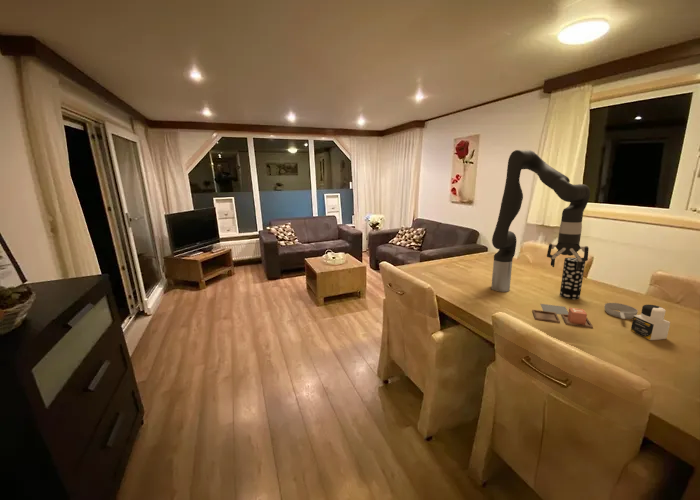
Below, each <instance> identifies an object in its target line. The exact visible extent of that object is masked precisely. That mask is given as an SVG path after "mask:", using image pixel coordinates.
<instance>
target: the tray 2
mask: <svg viewBox="0 0 700 500" xmlns="http://www.w3.org/2000/svg"><path fill="white" fill-rule="evenodd" d="M560 316H561V318H562V319H563V322H564V324H565V325H567V326H572V327H573V326H574V327H579V328H586V329H594V326H593V324H592V323H591V321H590V319H588V317H587V318H586V324H585V325H583V324H576V323H570V321H569V319H568V315H567V314H560Z"/></svg>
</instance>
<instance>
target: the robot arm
mask: <svg viewBox="0 0 700 500" xmlns="http://www.w3.org/2000/svg"><path fill="white" fill-rule="evenodd" d="M522 170H528V171H531V172H533V173H535V174H536V175H537V176H538V178H539V180H540V181H541V183H543V185H545V186H547V187H548V188H549V189H550V190H552V191H554V193H555V194H556V195H557V197H559V199H561V200H563V202H567V203H569V205H568V206H567V207H564V208H563V210H562V213H561V221H560V224H559V228H558V236H557V238H558V239H557V244H554V243H550V242H549V244H548V247H547V254H546V257H547V258H550V266H552V268H555V264H556V263H555V262H556V258H557V257H559V256H560V255H562V256H568V257H569V256H574V258H577V260H578V261H577V267H576V270H579V269H580V268H581V263H582V261H585V262H587V261H588V260H589V246H587V245H585V246H581V245H580V244H581V237H582V230H583V217H584V212H585V210H586V208H587V205H588V203H589V201H590V198H591V189H590V187H589V186H588V185H587V184H582V183H579V184H572V183H570V178H569V177H568V176H567V175H565V174H564V173H562V172H560V171H559V170H557V169H555V168H553V167H552V166H550V165H549V163H547V162H546V161H545V160H544V159H542V158H541V157H540V155H538V154H537V153H536V152H535V151H533V150H531V149H516V150H513V151H511V153H510V155H509V158H508V161H507V170H506V177H505V178H506V179H505V184H504V189H503V190H504V191H503V194H502V199H501V203H500V209H499V213H498V217H497V222H496V225H495V228H494V231H493V234H492V238H491V243H492V246H493V248H495V249H496V250H497V252H496V253H495V254H494V255H493V265H492V274H491V291H492V290H493V291H496V292H501V293H502V292H505V293H506V292H509V291H511V280H512V272H513V271H512V269H513V261H514V260H513V259H514V256H515V254H516V250H517V249H516V248H517V236H516V234H515V232H513V231H510V226H511V224H512V223H513V221H514V220H515V218H516V217H517V215H518V214H519V212H520V210H521V207H522V203H523V200H524V193H523V189H522V187H521V183H520V177H521V172H522ZM555 248H556V250H557V251H555V253H554V254H551V252H552V250H554V249H555ZM580 250H581V251H582V252H583V257H582V256H580V254H579V253H578V252H579V251H580Z"/></svg>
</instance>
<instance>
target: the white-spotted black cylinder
mask: <svg viewBox="0 0 700 500" xmlns="http://www.w3.org/2000/svg"><path fill="white" fill-rule="evenodd" d="M577 261H578V260H577V258H576V257H565V258H564V262H563V269H562V276H561V283H560V284H561V285H560V291H559V296H560V297H561V298H564V299H567V300H571V301H572V300H574V301H575V300H577V301H578V300H579V299H580V298H581V292H582V286H583V280H584V272H585V266H586V261H582V263H581V268H580V269H579V270H576V267H577Z"/></svg>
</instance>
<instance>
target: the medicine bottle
mask: <svg viewBox="0 0 700 500" xmlns="http://www.w3.org/2000/svg"><path fill="white" fill-rule="evenodd" d="M641 307H642V308H641V313H640V314H637V315H634V317H633V318H632V322H631V326H630V327H631V328H630V331H631V332H633V333H635V334H636V335H639V336H641V337H643V338H645V339H646V340H649V341H658V340H666V339H667V338H668V334H669V330H670V328H671V327H670V326H671V321H669V320H666V319H665V315H666V311H667V310H666V309H665V308H663V307H661V306H659V305H655V304H644V305H642V306H641Z"/></svg>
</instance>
